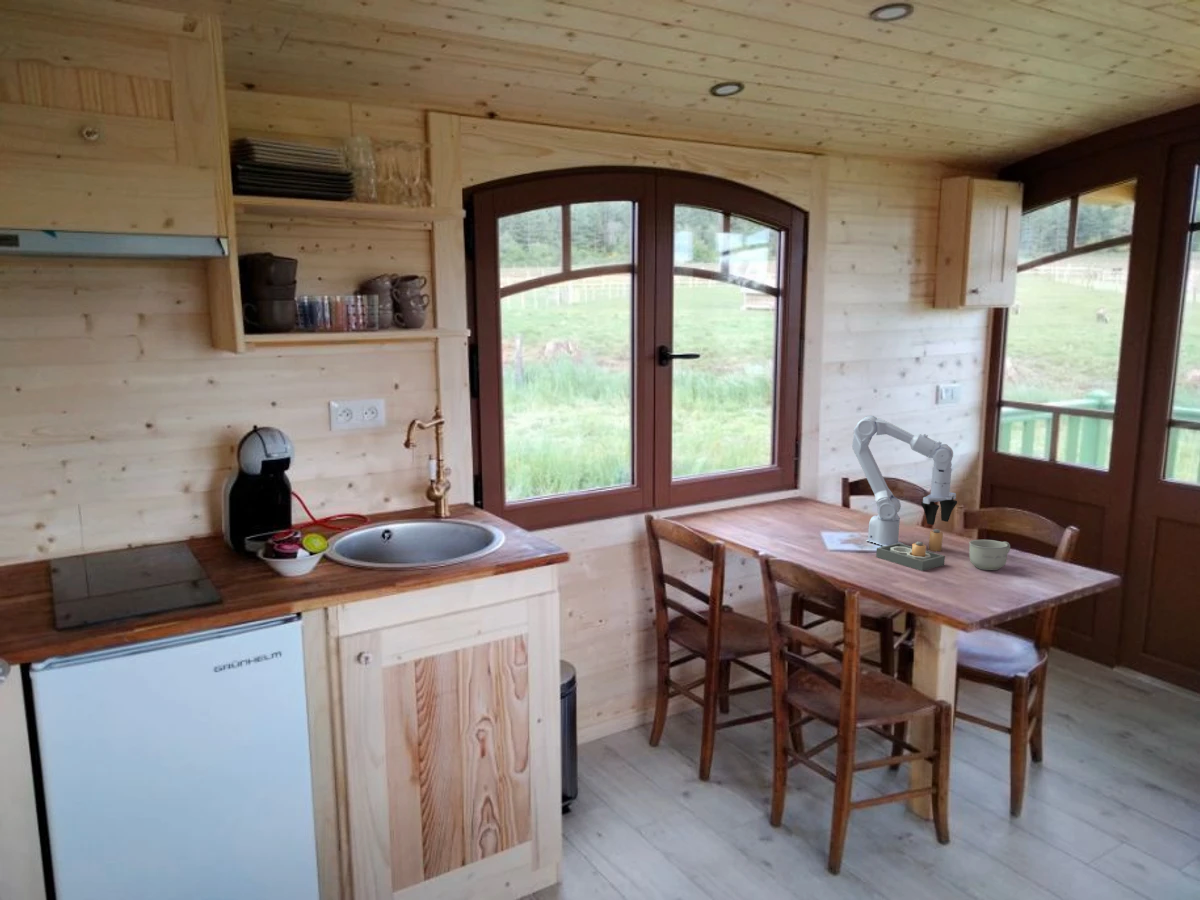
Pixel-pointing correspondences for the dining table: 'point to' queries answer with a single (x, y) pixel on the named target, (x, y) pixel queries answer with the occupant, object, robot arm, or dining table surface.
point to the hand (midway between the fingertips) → (937, 522)
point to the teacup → (988, 554)
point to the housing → (911, 556)
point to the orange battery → (935, 540)
